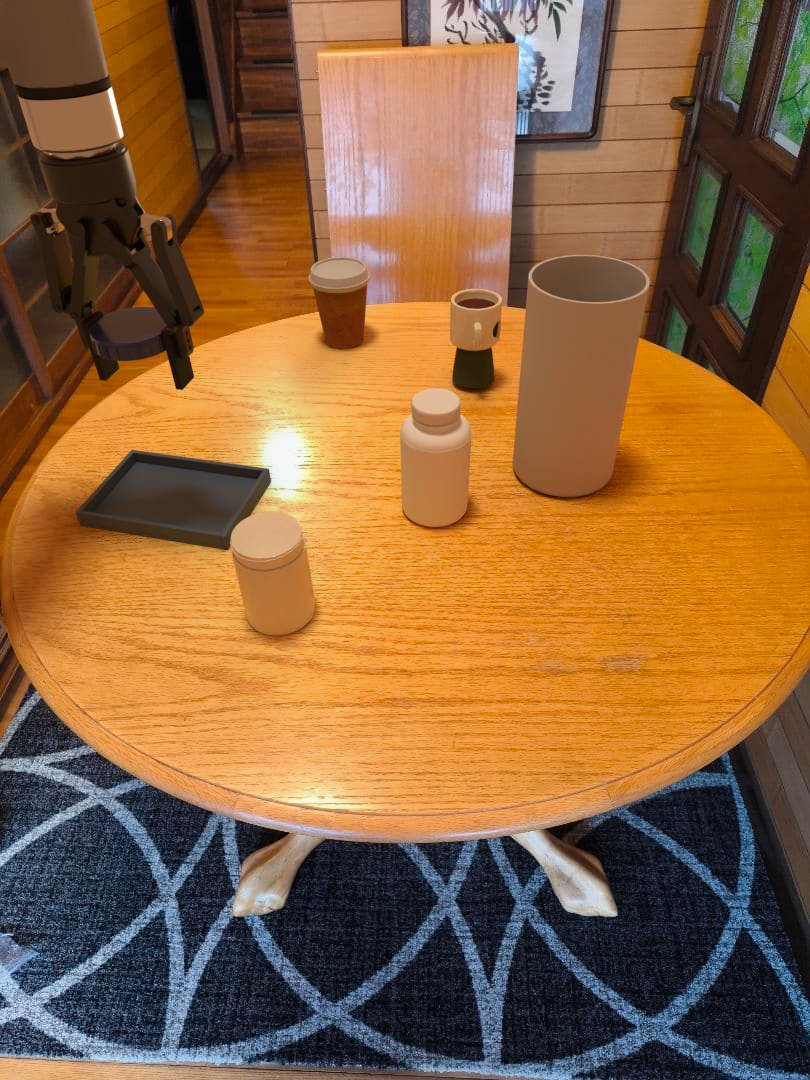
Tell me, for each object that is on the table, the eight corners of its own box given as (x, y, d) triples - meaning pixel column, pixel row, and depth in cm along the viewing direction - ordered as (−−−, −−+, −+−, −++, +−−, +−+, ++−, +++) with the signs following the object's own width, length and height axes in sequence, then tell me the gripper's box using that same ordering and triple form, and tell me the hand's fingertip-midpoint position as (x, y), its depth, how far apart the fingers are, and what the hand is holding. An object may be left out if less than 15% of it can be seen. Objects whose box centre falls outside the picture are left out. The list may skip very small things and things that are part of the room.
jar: (235, 629, 78) (215, 552, 71) (262, 580, 83) (246, 505, 76) (301, 641, 77) (288, 564, 70) (324, 591, 82) (314, 515, 75)
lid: (192, 327, 80) (188, 310, 79) (152, 365, 74) (147, 347, 73) (121, 319, 82) (116, 302, 81) (77, 356, 76) (71, 338, 75)
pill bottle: (447, 537, 88) (449, 427, 78) (389, 515, 91) (383, 406, 81) (480, 500, 93) (485, 392, 83) (423, 480, 96) (422, 374, 86)
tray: (79, 525, 91) (74, 512, 90) (135, 461, 101) (131, 449, 99) (227, 549, 87) (224, 536, 86) (271, 481, 97) (269, 468, 95)
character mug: (500, 401, 109) (506, 315, 101) (450, 402, 110) (452, 317, 101) (493, 363, 118) (498, 281, 109) (447, 364, 118) (448, 282, 109)
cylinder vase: (566, 431, 103) (591, 246, 87) (633, 477, 95) (675, 283, 79) (492, 461, 98) (504, 272, 82) (556, 513, 90) (584, 314, 74)
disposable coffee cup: (325, 358, 120) (317, 284, 112) (308, 332, 127) (300, 261, 119) (381, 346, 123) (378, 273, 115) (362, 322, 129) (358, 251, 121)
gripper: (211, 139, 67) (252, 371, 82) (4, 130, 71) (80, 352, 86) (170, 164, 61) (222, 408, 76) (-51, 152, 66) (40, 385, 81)
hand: (147, 378), depth 81 cm, fingers closed on lid, 8 cm apart
